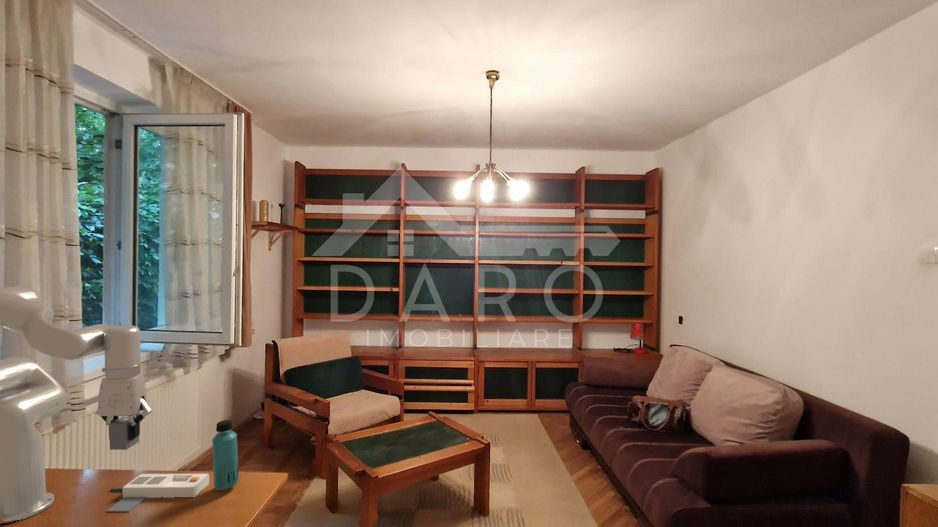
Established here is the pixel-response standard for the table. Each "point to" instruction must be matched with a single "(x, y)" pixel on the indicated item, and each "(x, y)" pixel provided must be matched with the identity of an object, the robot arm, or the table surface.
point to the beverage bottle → (225, 456)
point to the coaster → (126, 504)
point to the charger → (120, 435)
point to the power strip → (165, 485)
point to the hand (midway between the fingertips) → (124, 437)
